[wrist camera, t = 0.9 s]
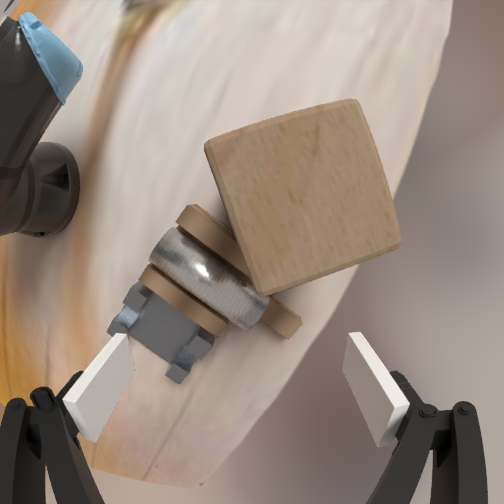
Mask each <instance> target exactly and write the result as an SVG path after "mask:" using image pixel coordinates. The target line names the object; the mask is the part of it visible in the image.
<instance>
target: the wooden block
mask: <svg viewBox="0 0 504 504" xmlns="http://www.w3.org/2000/svg"><path fill="white" fill-rule="evenodd" d="M204 151H205V154H206V157H207V160H208V163H209V165H210V168H211V171H212V174H213V177H214V179H215V182H216V185H217V188H218V191H219V193H220V196H221V199H222V202H223V204H224V207H225V210H226V213H227V216H228V218H229V221H230V224H231V227H232V229H233V232H234V235H235V238H236V240H237V243H238V246H239V249H240V251H241V254H242V257H243V259H244V262H245V265H246V268H247V270H248V273H249V276H250V278H251V281H252V284H253V287H254V289H255V292H256V293H257V294H258V295H259V296H268V295H271V294H274V293H277V292H280V291H283V290H286V289H289V288H292V287H295V286H298V285H300V284H303V283H306V282H309V281H312V280H315V279H318V278H320V277H323V276H326V275H329V274H332V273H334V272H337V271H340V270H343V269H345V268H348V267H351V266H353V265H356V264H359V263H361V262H364V261H367V260H369V259H372V258H375V257H377V256H380V255H382V254H385V253H387V252H390V251H393V250H395V249H397V248H399V247H400V246H401V244H402V239H401V234H400V230H399V225H398V221H397V217H396V213H395V209H394V205H393V201H392V197H391V193H390V190H389V186H388V183H387V179H386V176H385V173H384V169H383V166H382V163H381V160H380V157H379V154H378V151H377V148H376V145H375V142H374V140H373V137H372V134H371V131H370V129H369V126H368V123H367V121H366V118H365V116H364V113H363V111H362V108H361V106H360V104H359V102H358V101H357V100H356V99H345V100H340V101H335V102H331V103H326V104H322V105H318V106H314V107H310V108H306V109H302V110H298V111H295V112H291V113H287V114H284V115H280V116H277V117H274V118H270V119H267V120H264V121H261V122H258V123H254V124H251V125H248V126H245V127H242V128H239V129H237V130H234V131H231V132H228V133H225V134H223V135H220V136H217V137H214V138H212V139H209V140H208V141H207V142H206V143H205V144H204Z"/></svg>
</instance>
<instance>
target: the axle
mask: <svg viewBox="0 0 504 504" xmlns="http://www.w3.org/2000/svg"><path fill="white" fill-rule="evenodd" d="M149 262H151V263H152V264H153V265H154V266H156V267H157V268H158V269H160V270H161V271H162V272H164V273H165V274H166V275H167V276H169V277H170V278H171V279H173V280H174V281H175V282H177V283H178V284H179V285H181V286H182V287H183V288H185V289H186V290H188V291H189V292H190V293H192V294H193V295H194V296H196V297H197V298H199V299H200V300H201V301H203V302H204V303H205V304H207V305H208V306H210V307H211V308H213V309H214V310H215V311H217V312H218V313H220V314H221V315H223V316H224V317H225V318H227V319H228V320H230V321H231V322H233V323H234V324H236V325H237V326H239V327H240V328H242V329H243V330H245V331H247V330H249V329H251V328H252V327H253V326H254V325H255V324H256V323H257V321H258V320H259V319H260V318H261V316H262V315H263V313H264V312H265V310H266V308H267V306H268V303H269V297H268V296H259V295H258V294H257V293H256V292H255V289H254V287H253V285H251V284H250V283H248V282H247V281H246V280H244V279H243V278H242V277H240V276H239V275H237V274H236V273H235V272H233V271H232V270H231V269H229V268H228V267H227V266H225V265H224V264H222V263H221V262H220V261H218V260H217V259H216V258H214V257H213V256H212V255H210V254H209V253H208V252H206V251H205V250H204V249H202V248H201V247H200V246H198V245H197V244H196V243H194V242H193V241H192V240H190V239H189V238H188V237H186V236H185V235H184V234H182V233H181V232H180V231H178V230H177V229H176V228H174V227H173V228H171V229H170V230H169V231H168V232H167V233H166V234H165V235H164V236H163V237H162V238H161V240H160V241H159V242H158V244H157V245H156V247H155V248H154V250H153V251H152V253H151V255H150V257H149Z"/></svg>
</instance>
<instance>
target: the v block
mask: <svg viewBox="0 0 504 504" xmlns="http://www.w3.org/2000/svg"><path fill="white" fill-rule="evenodd" d="M123 303H124V304H125V306H124V307H123V309H122V311H121V312H120V313H119V314H118V315H117V316H116V317H115V318H114V319H113V321H112V322H111V324H110V326H109V328H108V330H107V333H108V334H110V335H111V336H112V337H113V336H114V335H115V334H116V333H121V334H128V333H129V334H130V335H132V336H133V337H134V338H136V339H137V340H138V341H140V342H141V343H142V344H144V345H145V346H146V347H148V348H149V349H151V350H152V351H153V352H155V353H156V354H158V355H159V356H161V357H162V358H163V359H165V360H166V361H168V362H169V363H171V364H170V366H169V368H168V370H167V372H166V374H165V375H166V376H167V377H169V378H170V379H172V380H173V381H175V382H176V383H178V384H180V383H181V382H182V381H183V380H184V378H185V377H186V376H187V375H188V374H189V372H190V369H191V367H192V364H193V363H194V361H195V360H196V359H197V358H200V359H202V358H203V357H204V355H205V354H206V353H207V352H208V351H209V350H210V348H211V347H212V346H213V343H214V340H215V335H213V334H212V333H210V332H209V331H207V330H206V329H204V328H203V327H202V326H200V325H199V324H197V323H196V322H194V321H193V320H192V319H190V318H189V317H187V316H186V315H185V314H183V313H182V312H180V311H179V310H178V309H176V308H175V307H173V306H172V305H171V304H169V303H168V302H167V301H165V300H164V299H163V298H161V297H160V296H159V295H157V294H156V293H155V292H154V291H152V290H151V289H150V288H148V287H147V286H146V285H145V284H143V283H142V282H141V281H138V282H137V283H136V284H135V285H133V286H132V287H131V289H130V290H129V292H128V294H127V296H126V297H125V299H124V301H123Z"/></svg>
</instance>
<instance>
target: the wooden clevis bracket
mask: <svg viewBox="0 0 504 504" xmlns="http://www.w3.org/2000/svg"><path fill="white" fill-rule="evenodd" d="M176 223H177V224H179V225H178V227H177V228H176V229H177V230H178V231H180V232H181V233H182V234H184V235H185V236H186V237H188V238H189V239H190V240H192V241H193V242H194V243H196V244H197V245H198V246H200V247H201V248H202V249H204V250H205V251H206V252H208V253H209V254H210V255H212V256H213V257H214V258H216V259H217V260H218V261H220V262H221V263H222V264H224V265H225V266H227V267H228V268H229V269H231V270H232V271H233V272H235V273H236V274H237V275H239V276H240V277H242V278H243V279H244V280H246V281H247V282H248V283H250V284H251V285H253V284H252V281H251V278H250V276H249V273H248V270H247V268H246V265H245V262H244V259H243V257H242V254H241V251H240V249H239V246H238V243H237V240H236V238H235V235H234V232H233V231H232V230H231V229H229V228H228V227H226V226H225V225H224V224H222V223H221V222H220V221H218V220H217V219H216V218H214V217H213V216H212V215H210V214H209V213H208V212H206V211H205V210H204V209H202V208H201V207H200V206H198V205H197V204H193V205H187V206H186V208H185V209H184V210H183V212H182V213H181V215H180V216H179V218H178V219H177V221H176ZM139 281H141V282H142V283H143V284H145V285H146V286H147V287H148V288H150V289H151V290H152V291H154V292H155V293H156V294H157V295H159V296H160V297H161V298H163V299H164V300H165V301H167V302H168V303H169V304H171V305H172V306H173V307H175V308H176V309H178V310H179V311H180V312H182V313H183V314H185V315H186V316H187V317H189V318H190V319H192V320H193V321H194V322H196V323H197V324H199V325H200V326H202V327H203V328H204V329H206V330H207V331H209V332H210V333H212V334H213V335H215V336H216V337H218V336H219V334H220V333H221V332H222V331H223V330H224V328H225V327H226V326H227V325H228V321H229V320H228V319H227V318H225V317H224V316H223V315H221V314H220V313H218V312H217V311H215V310H214V309H213V308H211V307H210V306H208V305H207V304H205V303H204V302H203V301H201V300H200V299H199V298H197V297H196V296H194V295H193V294H192V293H190V292H189V291H188V290H186V289H185V288H183V287H182V286H181V285H179V284H178V283H177V282H175V281H174V280H173V279H171V278H170V277H169V276H167V275H166V274H165V273H164V272H162V271H161V270H160V269H158V268H157V267H156V266H154V265H153V264H152V263H150V264H149V265H147V267H146V268H145V270H144V272H143V273H142V275H141V277H140V278H139ZM268 297H269V303H268V306H267V308H266V310H265V312H264V313H263V315H262V316H261V318H260V319H259V320H260V321H261V322H263V323H264V324H266V325H267V326H269V327H270V328H272V329H273V330H275V331H276V332H278V333H279V334H281V335H282V336H284V337H285V338H287V339H289V338H290V337H291V336H292V335H293V334H294V333H295V332H296V330H297V329H298V328H299V327H300V326H301V325H302V324H303V323H302V321H301V318H300V317H299V316H298V315H296V314H295V313H293V312H292V311H291V310H289V309H288V308H286V307H285V306H283V305H282V304H281V303H279V302H278V301H276V300H275V299H274V298H272V297H271V296H269V295H268Z"/></svg>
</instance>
